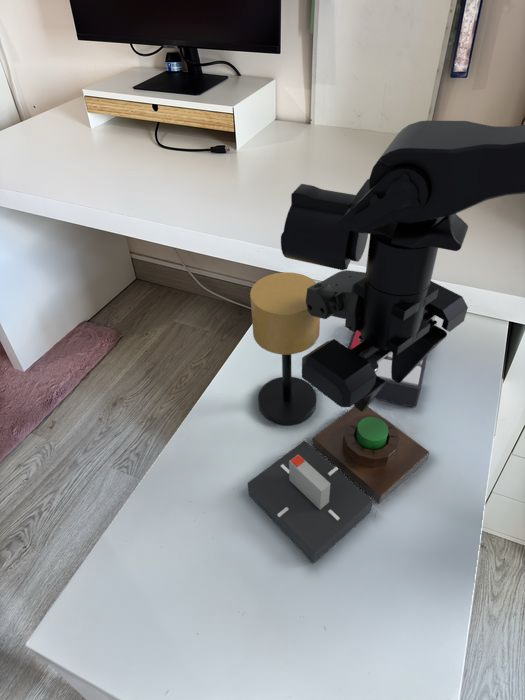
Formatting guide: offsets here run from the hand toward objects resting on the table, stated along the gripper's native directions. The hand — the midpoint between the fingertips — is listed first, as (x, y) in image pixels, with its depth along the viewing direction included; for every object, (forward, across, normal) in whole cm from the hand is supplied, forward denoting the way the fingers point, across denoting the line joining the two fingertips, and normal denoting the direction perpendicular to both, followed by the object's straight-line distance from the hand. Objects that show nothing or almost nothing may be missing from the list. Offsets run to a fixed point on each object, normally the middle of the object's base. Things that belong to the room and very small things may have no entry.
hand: (378, 394), depth 56 cm
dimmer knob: (+8, +10, 0) cm, 13 cm away
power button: (+8, 0, 0) cm, 8 cm away
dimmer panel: (+11, +10, 0) cm, 15 cm away
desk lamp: (+11, +2, -13) cm, 17 cm away
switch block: (+11, 0, 0) cm, 11 cm away
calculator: (+11, -14, -9) cm, 20 cm away
